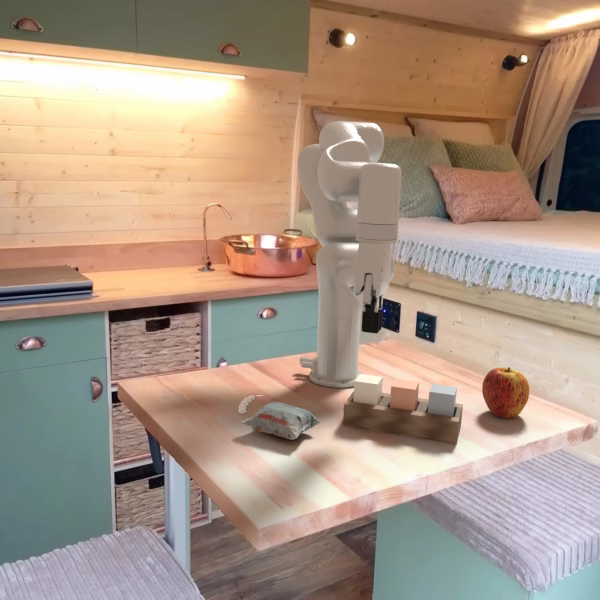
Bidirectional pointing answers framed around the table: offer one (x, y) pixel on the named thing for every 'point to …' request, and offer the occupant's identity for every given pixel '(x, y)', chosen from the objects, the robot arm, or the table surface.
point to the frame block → (403, 420)
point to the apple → (505, 392)
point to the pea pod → (245, 404)
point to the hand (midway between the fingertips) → (371, 330)
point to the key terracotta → (404, 394)
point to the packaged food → (282, 420)
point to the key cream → (368, 389)
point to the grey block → (442, 400)
